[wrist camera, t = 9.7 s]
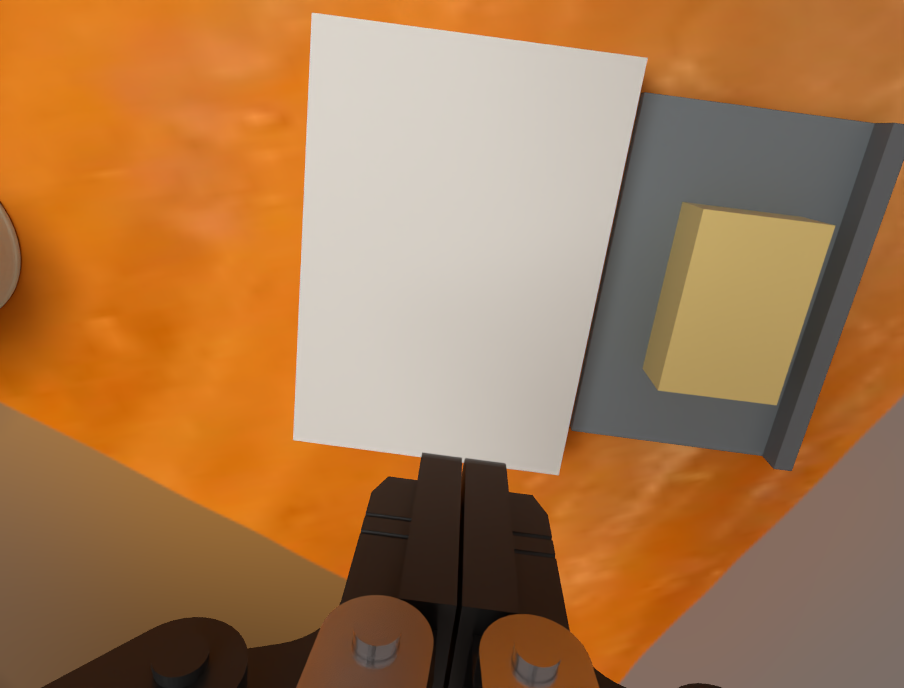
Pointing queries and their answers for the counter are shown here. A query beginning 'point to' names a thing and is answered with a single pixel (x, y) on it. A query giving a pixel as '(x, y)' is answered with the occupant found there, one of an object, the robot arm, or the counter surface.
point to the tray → (741, 187)
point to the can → (8, 257)
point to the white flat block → (453, 237)
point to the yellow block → (734, 302)
